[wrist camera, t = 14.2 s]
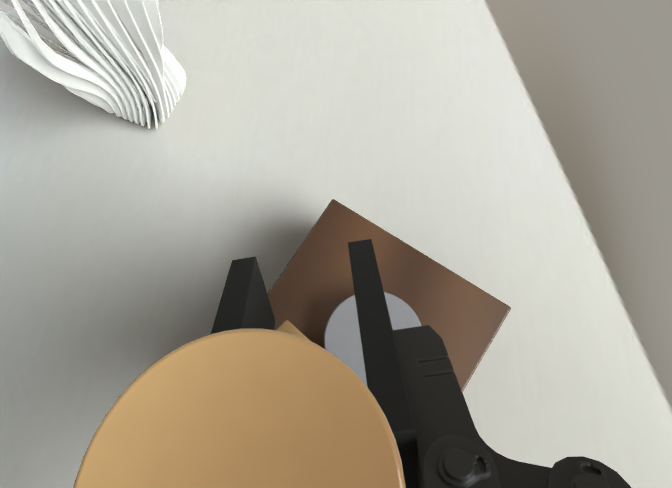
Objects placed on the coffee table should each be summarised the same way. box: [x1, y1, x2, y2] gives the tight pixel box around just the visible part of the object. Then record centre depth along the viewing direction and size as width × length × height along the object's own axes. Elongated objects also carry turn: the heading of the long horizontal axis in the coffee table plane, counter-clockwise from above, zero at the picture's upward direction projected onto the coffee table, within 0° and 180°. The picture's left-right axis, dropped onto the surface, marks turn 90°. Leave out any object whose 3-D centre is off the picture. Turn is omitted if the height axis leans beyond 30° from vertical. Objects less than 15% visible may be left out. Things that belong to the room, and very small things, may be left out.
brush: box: [74, 320, 406, 488], centre depth 11 cm, size 8×4×16 cm, turn 49°
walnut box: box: [267, 199, 511, 392], centre depth 22 cm, size 11×13×5 cm
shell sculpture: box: [0, 0, 187, 129], centre depth 21 cm, size 8×8×18 cm
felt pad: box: [324, 292, 421, 388], centre depth 19 cm, size 4×4×2 cm
